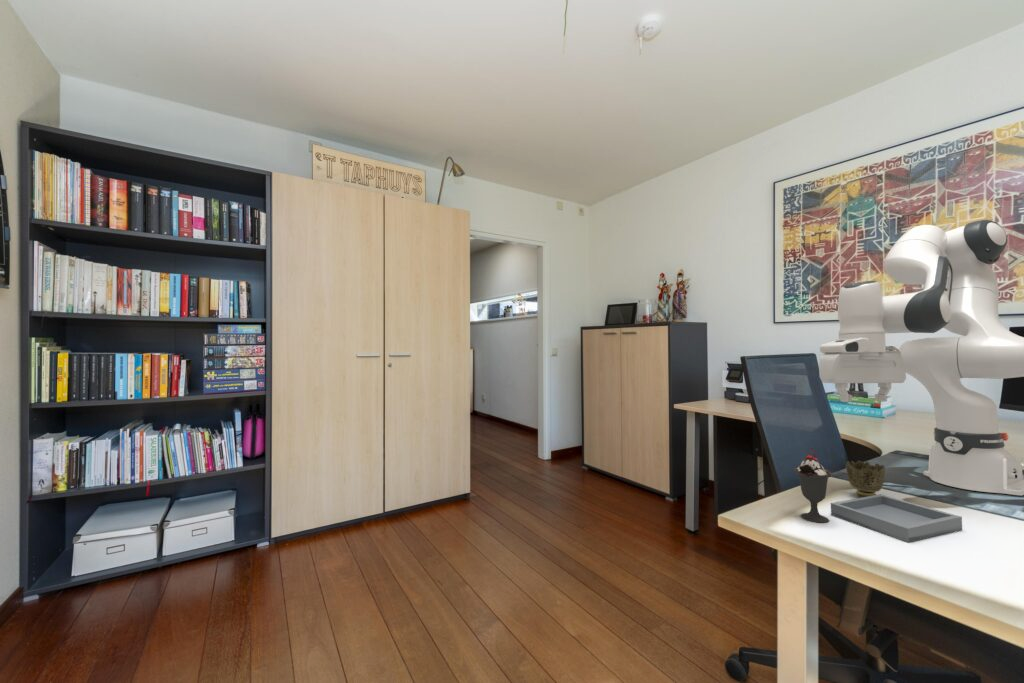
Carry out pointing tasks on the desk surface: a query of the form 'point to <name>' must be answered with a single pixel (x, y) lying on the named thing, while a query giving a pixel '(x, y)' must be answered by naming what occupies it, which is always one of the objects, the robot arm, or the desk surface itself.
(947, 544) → the desk surface
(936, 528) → the tray
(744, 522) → the desk surface
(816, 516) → the sundae
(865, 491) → the cup
